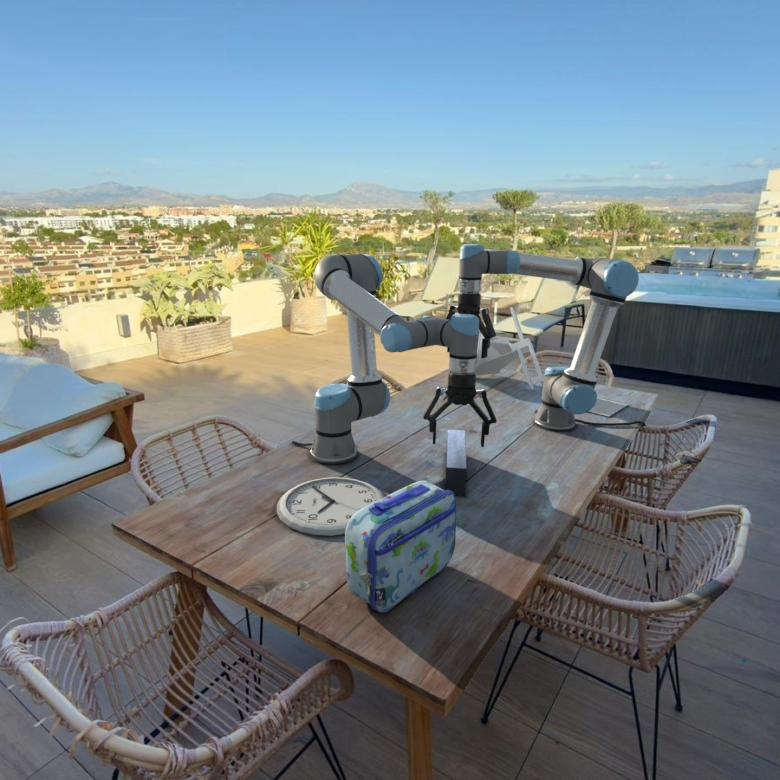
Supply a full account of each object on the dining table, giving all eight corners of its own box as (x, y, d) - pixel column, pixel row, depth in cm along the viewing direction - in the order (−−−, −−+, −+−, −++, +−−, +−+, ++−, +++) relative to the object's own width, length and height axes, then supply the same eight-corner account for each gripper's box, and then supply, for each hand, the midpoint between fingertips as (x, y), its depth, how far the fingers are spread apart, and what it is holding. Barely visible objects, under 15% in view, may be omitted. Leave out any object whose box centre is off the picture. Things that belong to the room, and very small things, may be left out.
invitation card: (608, 416, 214) (573, 407, 224) (608, 416, 214) (573, 408, 224) (628, 404, 229) (594, 396, 238) (628, 405, 229) (594, 397, 238)
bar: (446, 453, 177) (447, 429, 174) (463, 454, 176) (464, 430, 174) (444, 495, 149) (446, 467, 147) (464, 496, 149) (466, 468, 146)
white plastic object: (480, 418, 266) (459, 395, 242) (461, 346, 288) (441, 318, 264) (550, 394, 254) (536, 368, 229) (526, 321, 276) (510, 289, 251)
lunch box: (374, 626, 100) (375, 530, 93) (338, 598, 107) (337, 508, 101) (459, 568, 117) (465, 484, 111) (424, 547, 124) (427, 467, 118)
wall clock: (392, 527, 129) (268, 531, 127) (391, 533, 130) (269, 537, 127) (383, 473, 158) (282, 475, 155) (383, 478, 158) (282, 480, 156)
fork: (440, 400, 230) (440, 396, 230) (449, 390, 245) (449, 386, 244) (446, 401, 230) (446, 396, 229) (454, 391, 244) (455, 387, 243)
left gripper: (415, 373, 140) (413, 446, 146) (510, 377, 137) (503, 451, 144) (417, 366, 147) (415, 436, 154) (507, 370, 145) (501, 441, 151)
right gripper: (432, 290, 179) (430, 351, 185) (497, 296, 163) (493, 362, 170) (444, 288, 184) (442, 347, 190) (509, 294, 169) (504, 358, 175)
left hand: (458, 443), depth 149 cm, fingers open, 13 cm apart
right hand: (466, 354), depth 180 cm, fingers open, 13 cm apart
